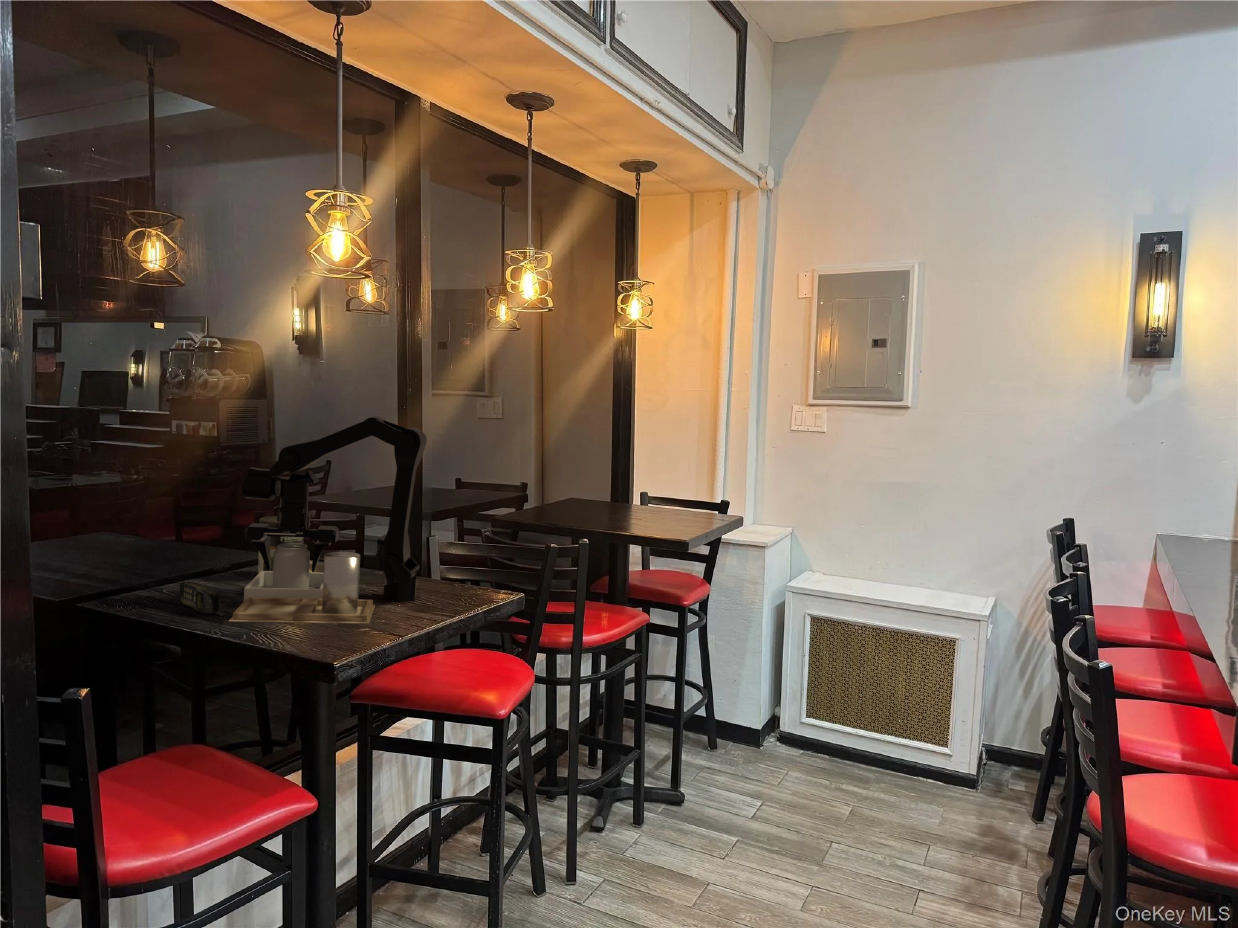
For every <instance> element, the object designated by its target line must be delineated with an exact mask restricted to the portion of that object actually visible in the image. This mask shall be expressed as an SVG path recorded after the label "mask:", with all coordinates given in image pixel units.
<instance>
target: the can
mask: <svg viewBox="0 0 1238 928" xmlns="http://www.w3.org/2000/svg"><path fill="white" fill-rule="evenodd" d="M277 547H278V548H277V549H276V550H275V551H274V555H273V581H272V586H271V588H297V589H310V587H309V572H310V565H311V564H310V563H311V552H310V550H309V549H308V545H307V544H305V543H303V544H301V543H284V544H279V545H277Z"/></svg>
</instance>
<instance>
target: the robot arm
mask: <svg viewBox="0 0 1238 928" xmlns="http://www.w3.org/2000/svg"><path fill="white" fill-rule="evenodd" d="M371 437H374V438H377V439H379V440H381V441H382V442H383V443H386V444H389V445H391V446H393V447H394V448H393V449H394V451H393V452H394V459H395V466H396V471H395V472H396V473H395V480H394V485H393V486H394V488H393V493H392V502H391V508H390V514H389V515H390V516H389V523H388V529H387V531H386V534H383V535H382V536H380V537H379V538H378V539H377V541H376V543H377V545H376V546H377V547H376V549H377V551H376V554H375V555H374V558H377V559H376V561H377V566H378V568H380V570H381V571H382V572H383V573H384V575H385V576H384V577H385V579H386V581H385V582H384V584H383V593H382V594H383V597H382V598H383V599H382V600H383V601H389V602H395V603H408V602H415V601H416V596H417V593H416V592H417V581H418V580H417V577H418V576H416V575H417V574H418V571H419V569H420V565H419V564H418V563H417V561H416V560H414V558H413V557H412V556H411V543H410V537H409V531H408V530H409V525H410V524H409V523H410V515H411V509H412V502H413V497H414V496H413V494H414V490H415V489H414V487H415V483H416V482H415V480H416V475H417V474H416V473H417V469H418V466H419V465H420V462H421V460H422V458H423V456H424V455H423V454H424V452H425V449H426V445H427V442H428V441H427V439H428V438H427V435H426V433H425V432H424V431H423V430H421V429H420V428H419V427H408V428H407V427H405V426H402V425H399V424H396V423H393V422H391V421H388V420H385V419H383V418H381V417H380V416H371V417H367V418H366V419H365V420H362V421H361V422H357V423H356V424H353V425H350V426H348V427H345V428H344V429H341V430H339V431H336V432H333V433H331V434H329V435H326V436H324V437H322V438H319V439H315V440H311V441H305V442H302V443H297V444H292V445H289V446H288V445H287V446H285V447H283V448H282V449H280V451H279V454H278V459H277V461H276V462H275V463H274V464H273V465H272V467H270V469H266V468H259V467H249V468H247V471H246V475H245V476H244V479H243V483H242V484H241V486H242V487H241V491H242V496H243V497H244V499H252V500H263V501H274V500H275V499H276V497H279V498H280V499H279V508H278V510H277V514H276V516H277V521H278V522H279V528H270V526H269V524H263V523H260V522H258V523H256V522H253V523H251V524H249V525H248V526H247V527H246V528H245V530H244V540H246V541H250V544H252V545H255V546H256V548H257V550H258V553H259V552H260V553H261V555H262V558H263V560H264V563H265V565H266V568H267V570H268V571H270V570H271V554H270V540H271V537H268V536H277V537H304V538H305V539H306V538H307V539H308V538H309V539H316V540H317V541H315V544H314V548H313V555H312V556H313V557H312V563H311V572H316V570H317V569H316V568H317V566H318V564H319V561H320V558H321V555H322V554H323V551H324V550H325V548H326V547H330V546H331V544H333V543H336V542H337V541H338V540H339V538H340V537H339V534H340V533H339V532H340V530H339V528H338V527H337V526H336V525H335V526H334V525H320V526H319V527H318V528H316V529H313V528H311V529H310V527H311V518H312V517H311V514H310V512H309V492H310V491H309V489H310V488H309V486H310V484H314V483H318V482H320V478H318V477H317V475H315V474H314V472H313V471H312V470H310V471H307V472H306V473H297V472H300V471H303V470H306V469H308V468H310V467H311V466H313V465H315V464H316V463H318V462H319V461H321V460H322V459H323V458H325V457H326V456H328V455H330V454H333V453H334V452H336V451H339V450H341V449H344V448H347V447H349V446H351V445H353V444H356V443H358V442H361V441H364V440H365V439H368V438H371ZM295 472H296V473H295ZM286 474H290V476H289V477H288V476H282V475H286ZM283 531H289V533H283ZM297 533H303V534H297Z"/></svg>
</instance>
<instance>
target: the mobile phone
mask: <svg viewBox="0 0 1238 928" xmlns="http://www.w3.org/2000/svg"><path fill="white" fill-rule="evenodd" d="M179 602H180V604H182V605H185V606H187V607H190V608H191V609H193V610H195V611H197V612H199V613H202V614H206V615H207V614H208V615H211V614H216V615H217V616H220V617H225V615H226V614H225V613H224V612H223V611H221V608H220V607H221V596H220V593H219V592H218V591H216V590H214V589H212V588H211V587H208V586H205V585H203V584H201V583H199V582H195V581H182V582H180V583H179Z"/></svg>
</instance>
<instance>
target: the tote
mask: <svg viewBox="0 0 1238 928" xmlns="http://www.w3.org/2000/svg"><path fill="white" fill-rule="evenodd" d="M272 581H273V571H261V572H260V573H259V574H258V573H257V575H256V576H255V577H254V578H253V579H252V580H251V581H250V582H249V583H248V584H247V585H246V586H245V587H244V590H243V602H244V601H245V600H246V599H247V598H248V597H264V598H311V599H322V592H323V572H316V571H314V572H312V571H311V572H310V571H309V589H297V588H272Z"/></svg>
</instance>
